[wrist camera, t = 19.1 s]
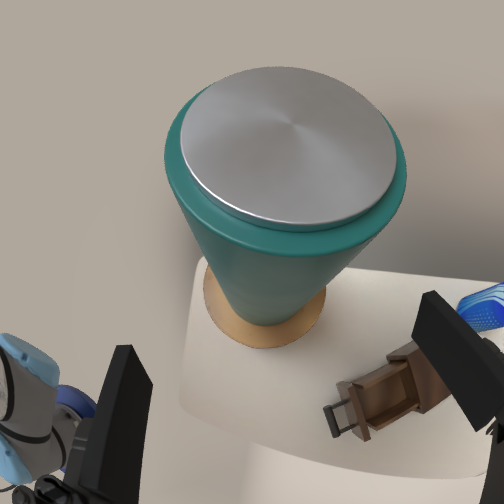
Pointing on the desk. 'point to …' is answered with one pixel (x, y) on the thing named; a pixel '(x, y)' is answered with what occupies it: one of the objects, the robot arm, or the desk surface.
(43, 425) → the robot arm
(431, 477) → the desk surface
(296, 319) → the pedestal
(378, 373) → the drawer
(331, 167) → the can
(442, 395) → the cabinet
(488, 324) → the beer can
